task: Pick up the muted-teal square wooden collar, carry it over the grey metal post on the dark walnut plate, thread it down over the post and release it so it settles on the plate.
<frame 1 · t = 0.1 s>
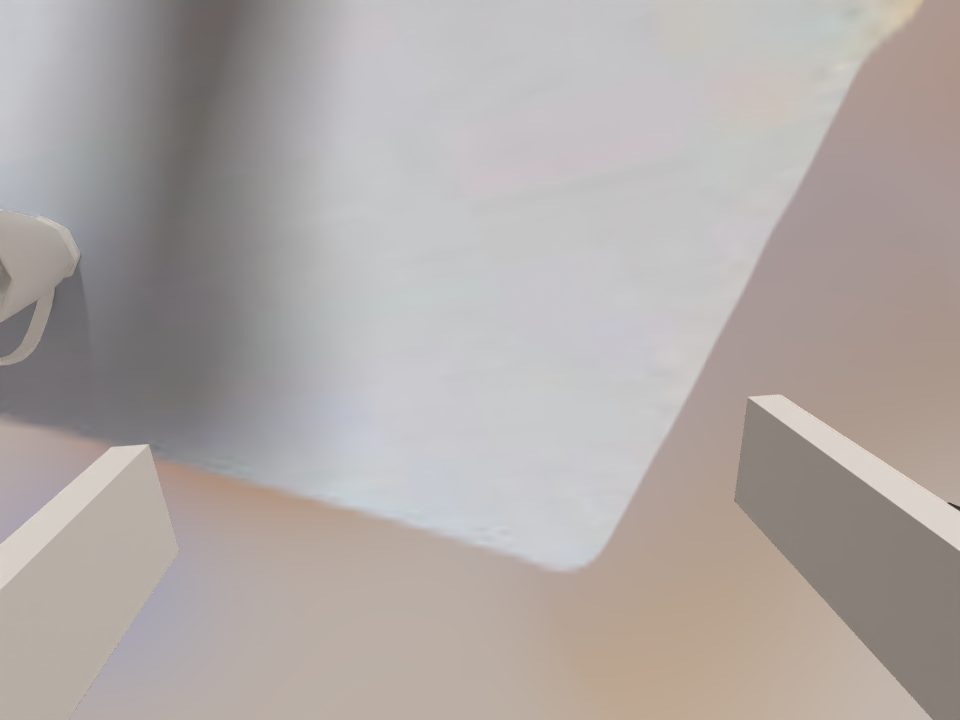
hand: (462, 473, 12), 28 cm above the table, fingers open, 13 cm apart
cup: (49, 270, 37), on the table
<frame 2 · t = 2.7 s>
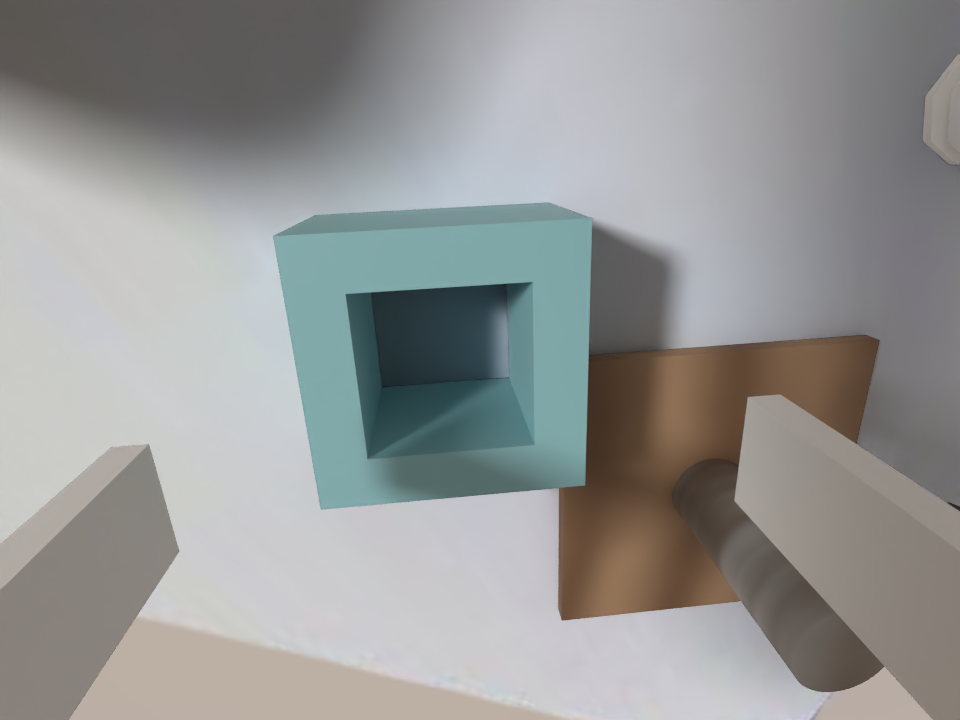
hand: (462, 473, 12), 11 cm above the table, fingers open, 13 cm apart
post stand: (700, 481, 27), on the table
collar: (441, 321, 23), on the table
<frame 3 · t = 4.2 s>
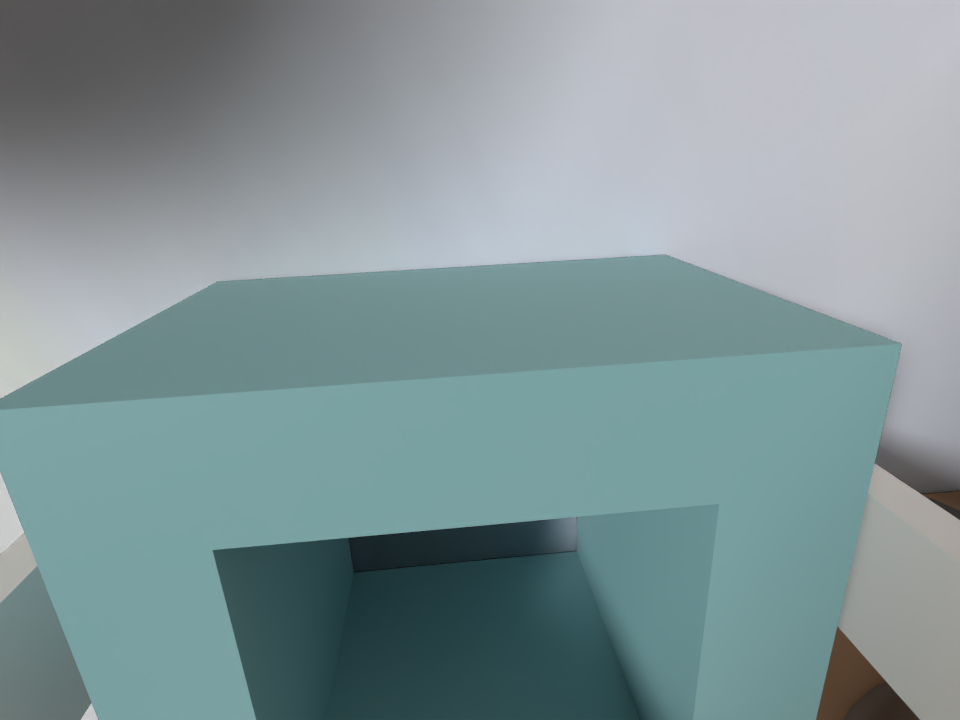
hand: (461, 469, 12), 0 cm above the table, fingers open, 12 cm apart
post stand: (878, 694, 16), on the table
collar: (460, 463, 12), on the table
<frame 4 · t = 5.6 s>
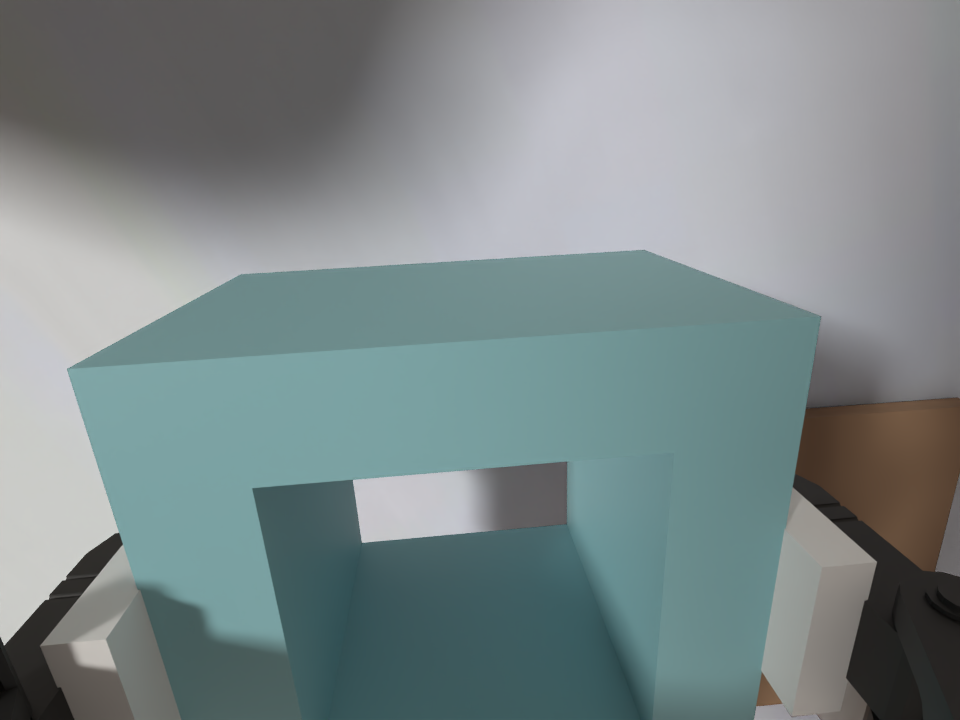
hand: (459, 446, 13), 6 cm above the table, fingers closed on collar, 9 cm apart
post stand: (761, 563, 23), on the table
collar: (459, 441, 14), point 6 cm above the table, touching gripper
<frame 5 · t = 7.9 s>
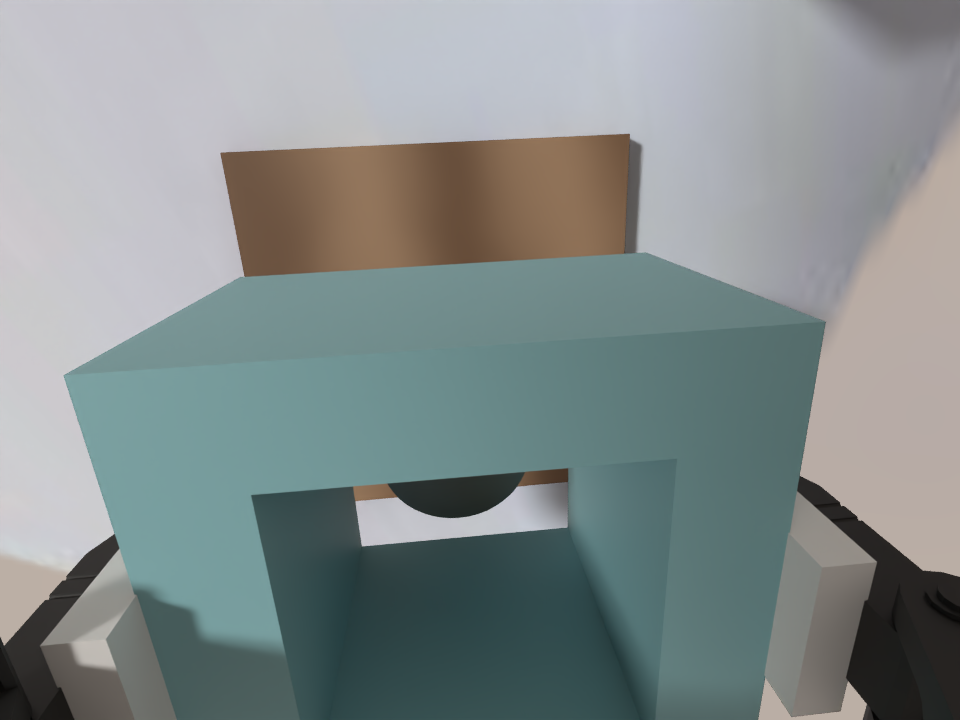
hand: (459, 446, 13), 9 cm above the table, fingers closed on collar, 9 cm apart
post stand: (443, 331, 22), on the table
collar: (459, 445, 14), point 9 cm above the table, touching gripper
when the fingers open (2 cm above the table, at t = 10.2 s): collar drops 1 cm, resting on post stand.
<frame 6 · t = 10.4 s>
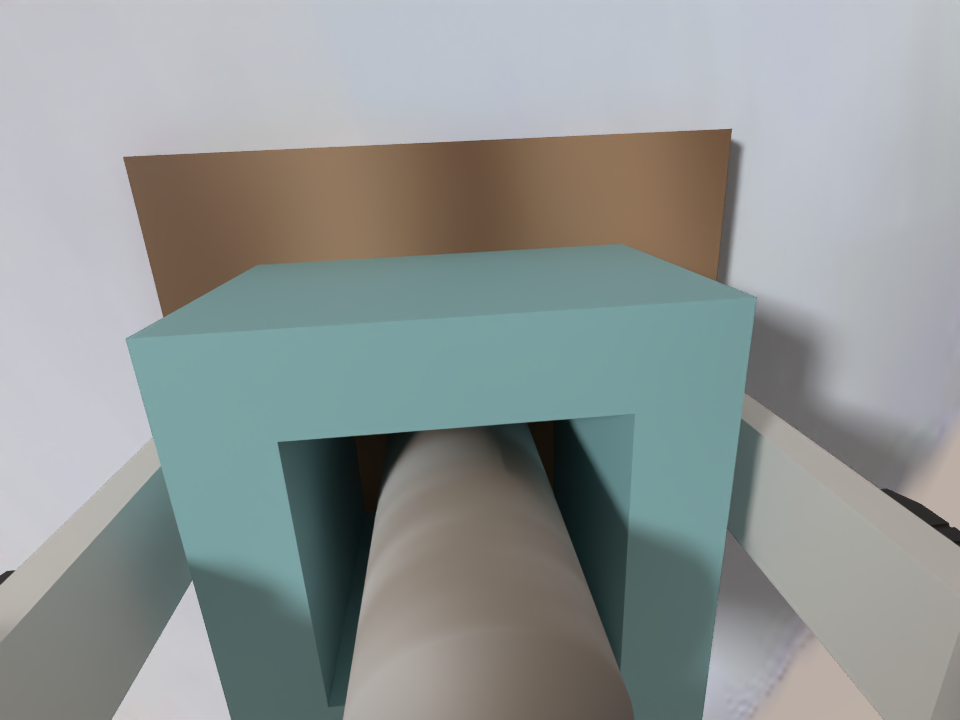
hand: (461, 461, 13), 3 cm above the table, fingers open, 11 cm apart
post stand: (455, 405, 16), on the table
collar: (454, 419, 15), point 1 cm above the table, touching post stand
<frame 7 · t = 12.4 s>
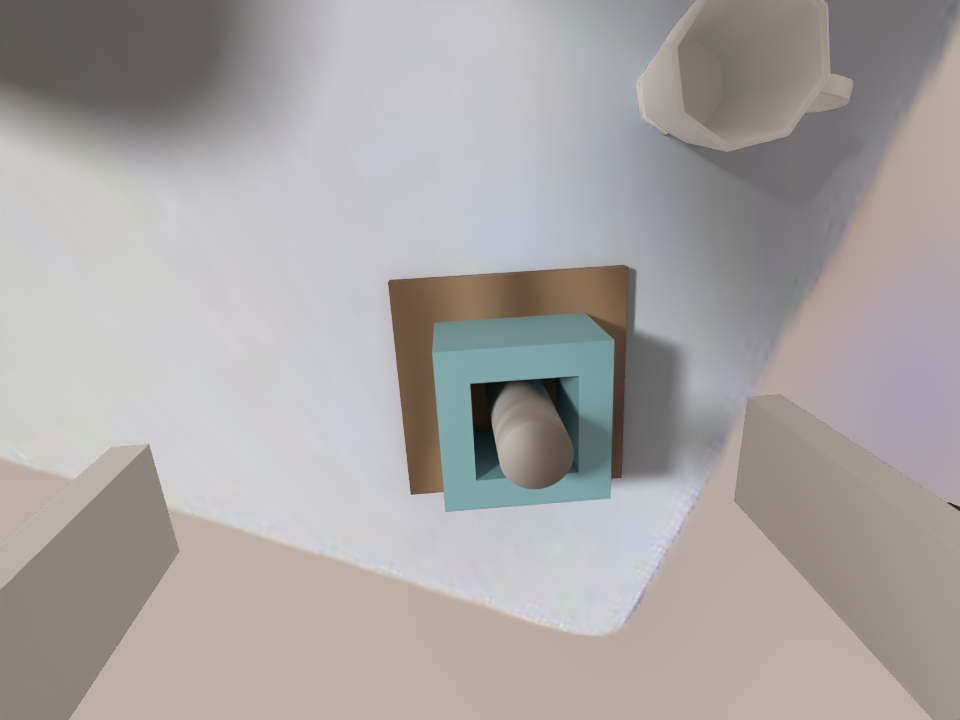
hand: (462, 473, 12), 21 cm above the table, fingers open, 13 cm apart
cup: (697, 97, 30), on the table
post stand: (511, 382, 35), on the table
collar: (512, 388, 34), point 1 cm above the table, touching post stand
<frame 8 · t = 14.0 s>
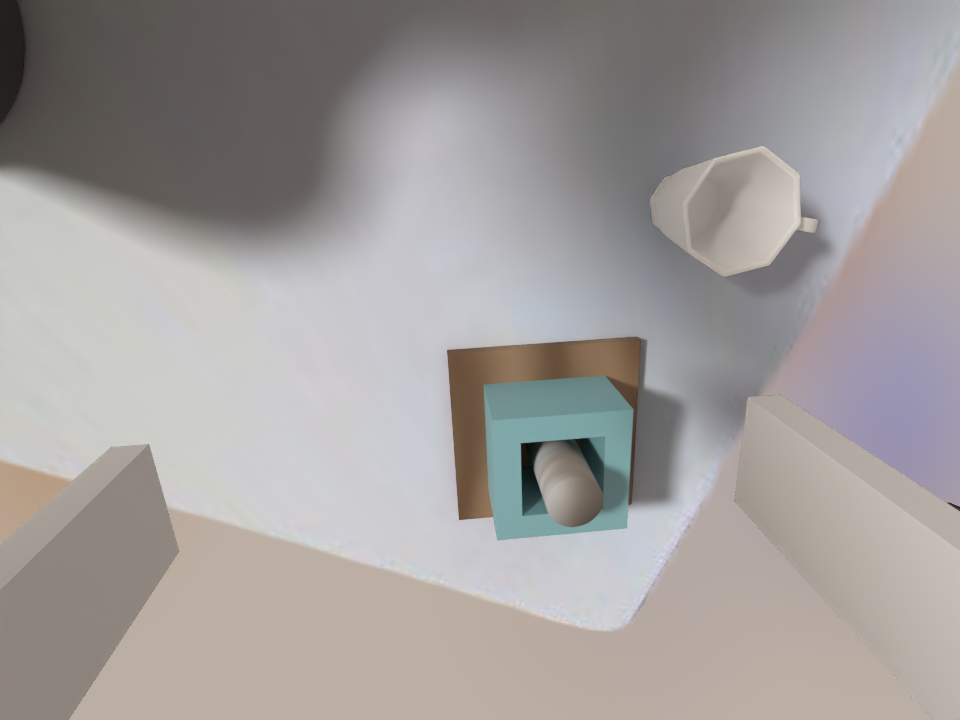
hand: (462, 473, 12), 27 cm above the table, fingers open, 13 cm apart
cup: (698, 207, 38), on the table
post stand: (543, 429, 42), on the table
collar: (545, 434, 41), point 1 cm above the table, touching post stand
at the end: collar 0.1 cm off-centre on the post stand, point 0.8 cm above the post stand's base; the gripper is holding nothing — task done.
